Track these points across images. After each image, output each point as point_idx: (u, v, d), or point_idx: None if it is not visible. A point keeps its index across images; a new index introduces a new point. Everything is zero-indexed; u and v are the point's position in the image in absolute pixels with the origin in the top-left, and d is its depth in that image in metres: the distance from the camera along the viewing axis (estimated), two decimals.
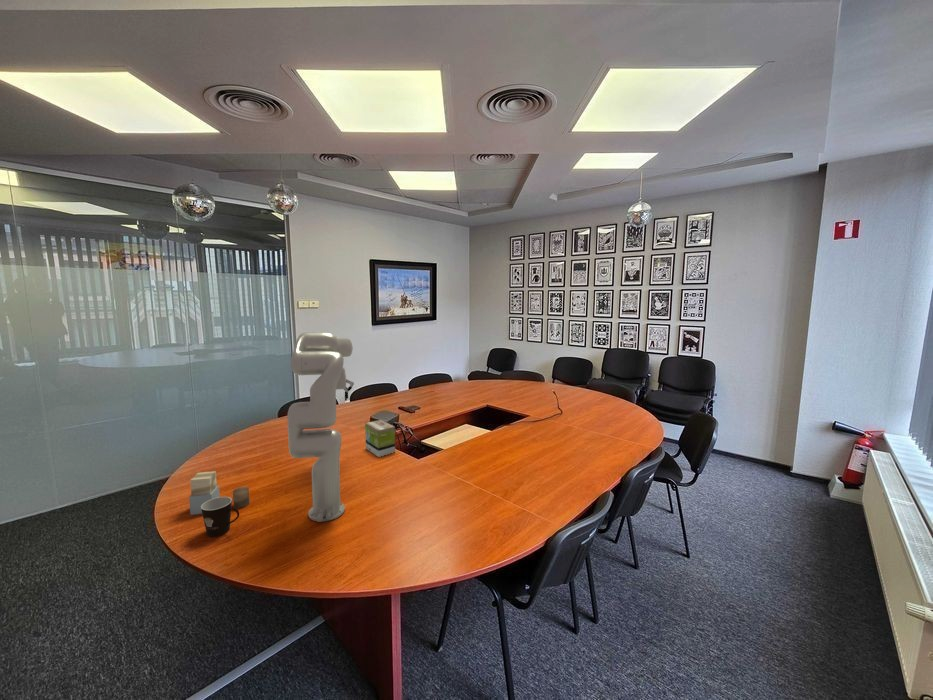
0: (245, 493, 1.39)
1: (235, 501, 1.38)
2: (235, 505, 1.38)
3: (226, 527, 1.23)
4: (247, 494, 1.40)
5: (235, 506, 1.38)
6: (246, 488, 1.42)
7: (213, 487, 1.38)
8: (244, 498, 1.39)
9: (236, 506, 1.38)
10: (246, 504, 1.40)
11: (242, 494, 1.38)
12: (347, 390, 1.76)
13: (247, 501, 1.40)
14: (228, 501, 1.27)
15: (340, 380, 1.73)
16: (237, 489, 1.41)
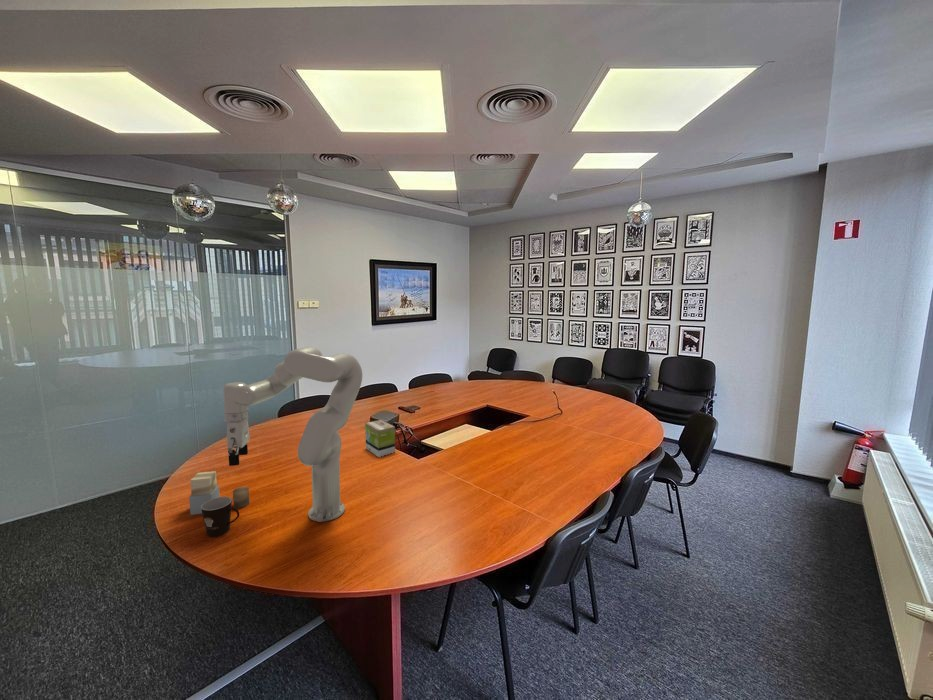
0: (245, 493, 1.39)
1: (235, 501, 1.38)
2: (235, 505, 1.38)
3: (226, 527, 1.23)
4: (247, 494, 1.40)
5: (235, 506, 1.38)
6: (246, 488, 1.42)
7: (213, 487, 1.38)
8: (244, 498, 1.39)
9: (236, 506, 1.38)
10: (246, 504, 1.40)
11: (242, 494, 1.38)
12: None
13: (247, 501, 1.40)
14: (228, 501, 1.27)
15: (248, 430, 1.41)
16: (237, 489, 1.41)
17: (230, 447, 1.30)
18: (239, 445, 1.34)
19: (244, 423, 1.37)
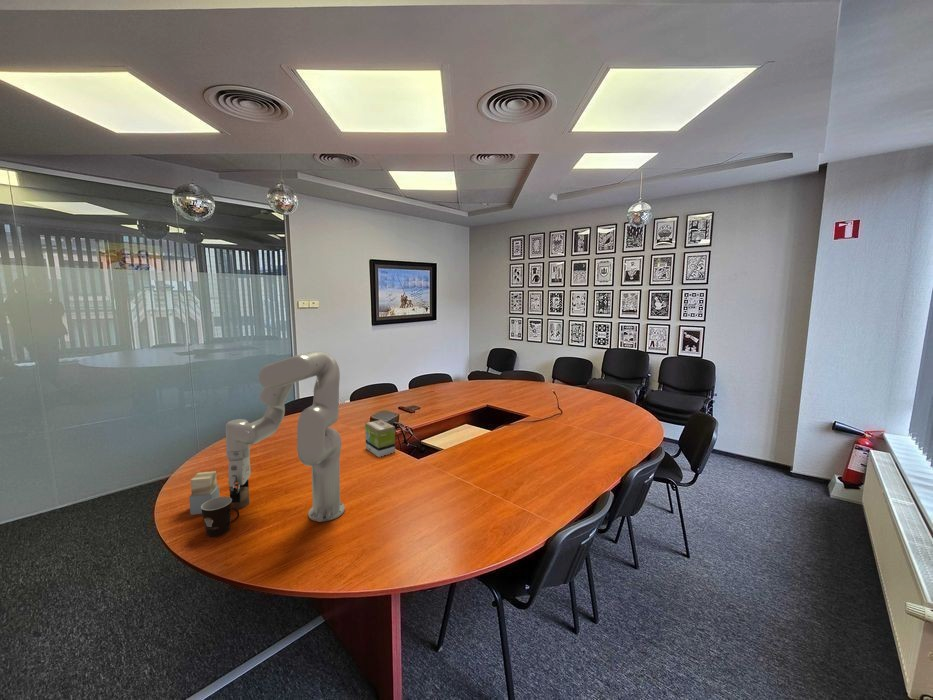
0: (245, 493, 1.39)
1: None
2: (235, 505, 1.38)
3: (226, 527, 1.23)
4: (247, 494, 1.40)
5: (235, 506, 1.38)
6: (246, 488, 1.42)
7: (213, 487, 1.38)
8: (244, 498, 1.39)
9: (236, 506, 1.38)
10: (246, 504, 1.40)
11: (242, 494, 1.38)
12: None
13: (247, 501, 1.40)
14: (228, 501, 1.27)
15: (249, 466, 1.43)
16: None
17: (231, 486, 1.32)
18: (240, 483, 1.35)
19: (245, 460, 1.39)
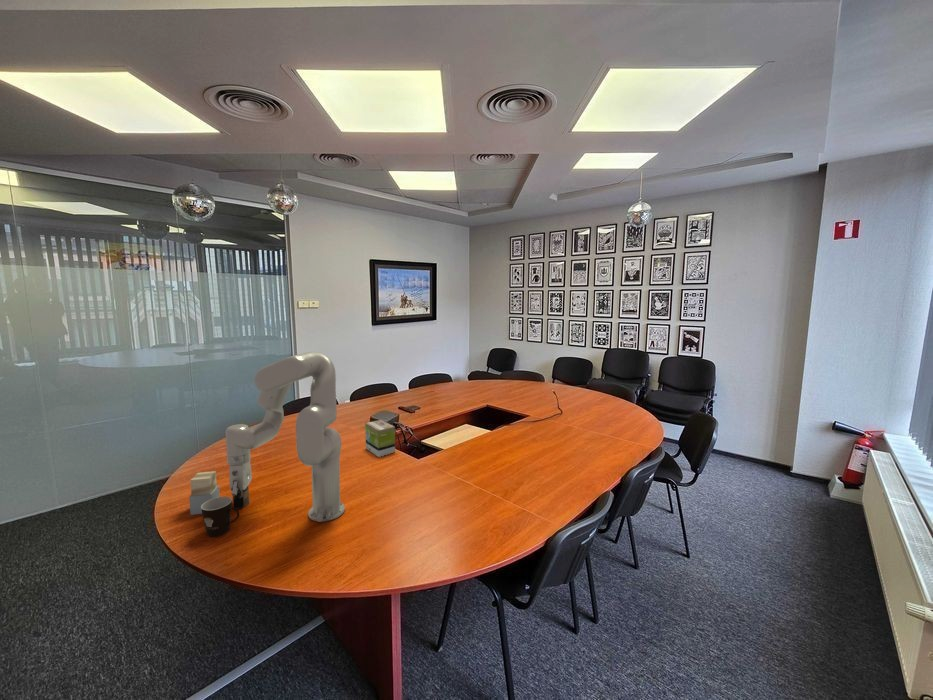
0: (244, 493, 1.39)
1: None
2: None
3: (226, 527, 1.23)
4: (247, 494, 1.40)
5: None
6: (246, 488, 1.41)
7: (213, 487, 1.38)
8: (244, 498, 1.39)
9: None
10: (246, 504, 1.40)
11: (242, 494, 1.38)
12: (247, 486, 1.44)
13: (247, 501, 1.40)
14: (228, 501, 1.27)
15: (250, 471, 1.43)
16: None
17: (234, 494, 1.33)
18: (242, 487, 1.36)
19: (246, 465, 1.39)
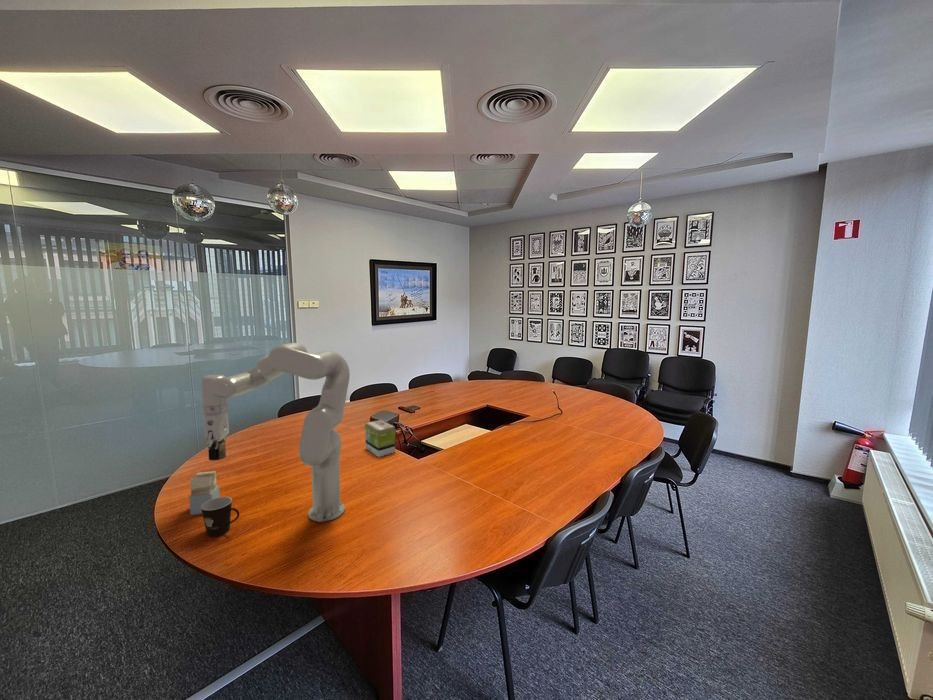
0: (220, 445, 1.35)
1: None
2: None
3: (226, 527, 1.23)
4: (223, 446, 1.36)
5: None
6: (222, 441, 1.38)
7: (213, 487, 1.38)
8: (220, 450, 1.35)
9: None
10: (222, 457, 1.36)
11: (218, 446, 1.35)
12: (224, 439, 1.41)
13: (223, 454, 1.37)
14: (228, 501, 1.27)
15: (227, 424, 1.39)
16: None
17: (209, 444, 1.29)
18: (217, 438, 1.32)
19: (223, 416, 1.35)
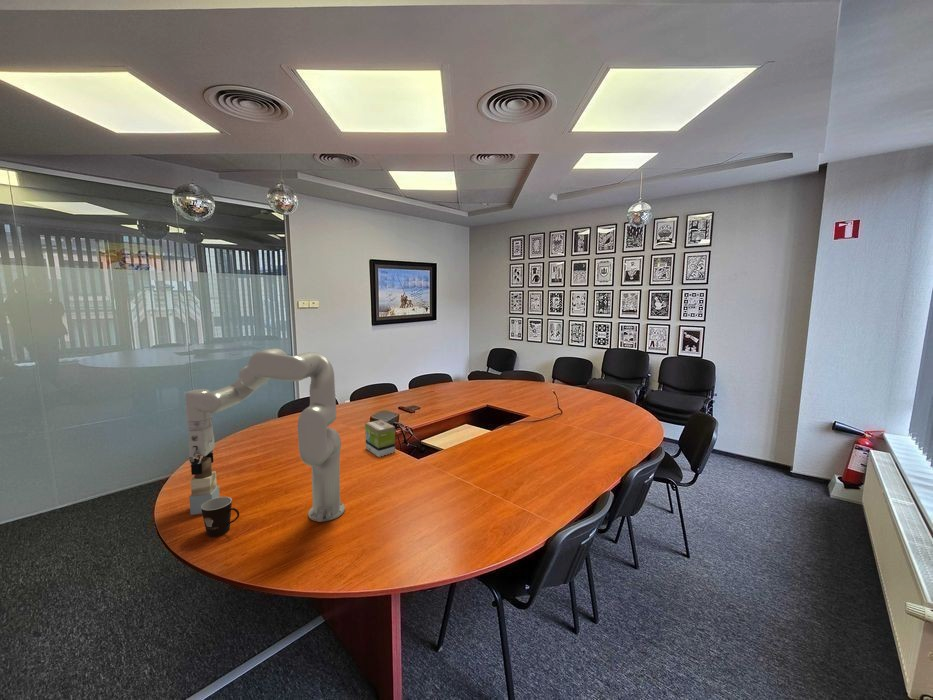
0: (206, 463, 1.35)
1: None
2: (196, 475, 1.34)
3: (226, 527, 1.23)
4: (209, 464, 1.36)
5: (196, 476, 1.34)
6: (208, 458, 1.37)
7: (213, 487, 1.38)
8: (206, 468, 1.35)
9: (197, 476, 1.34)
10: (208, 475, 1.35)
11: (203, 464, 1.34)
12: (211, 449, 1.41)
13: (209, 472, 1.36)
14: (228, 501, 1.27)
15: (212, 438, 1.38)
16: None
17: (191, 456, 1.27)
18: (202, 454, 1.31)
19: (208, 431, 1.34)
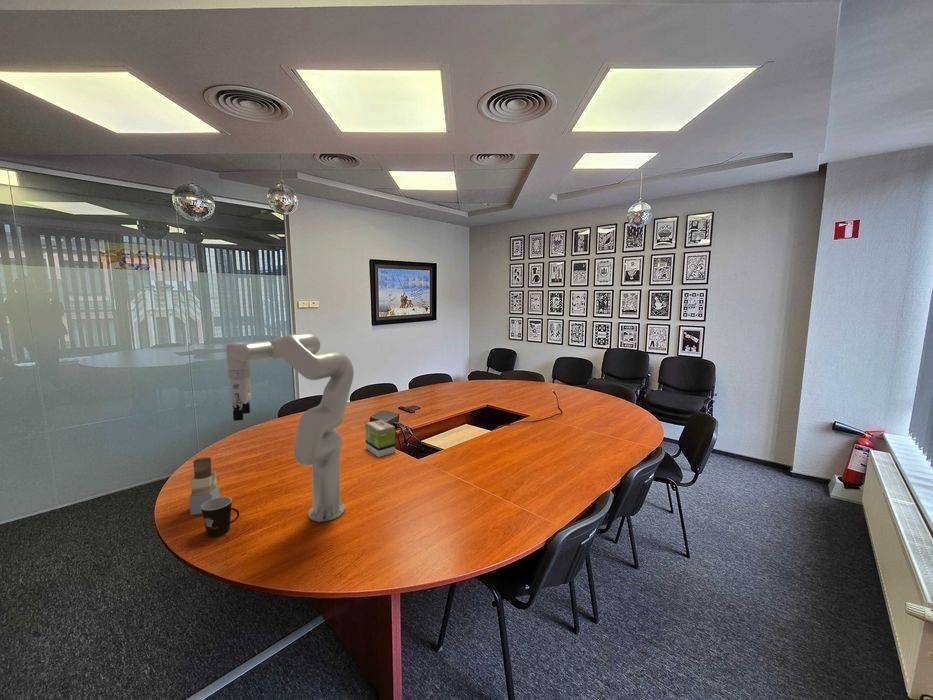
0: (206, 463, 1.35)
1: (196, 471, 1.33)
2: (196, 475, 1.34)
3: (226, 527, 1.23)
4: (209, 464, 1.36)
5: (196, 476, 1.34)
6: (208, 458, 1.37)
7: (213, 487, 1.38)
8: (206, 468, 1.35)
9: (197, 477, 1.34)
10: (208, 475, 1.35)
11: (203, 464, 1.34)
12: (248, 400, 1.51)
13: (209, 471, 1.36)
14: (228, 501, 1.27)
15: (250, 389, 1.48)
16: (198, 459, 1.36)
17: (235, 401, 1.37)
18: (243, 401, 1.41)
19: (247, 381, 1.44)
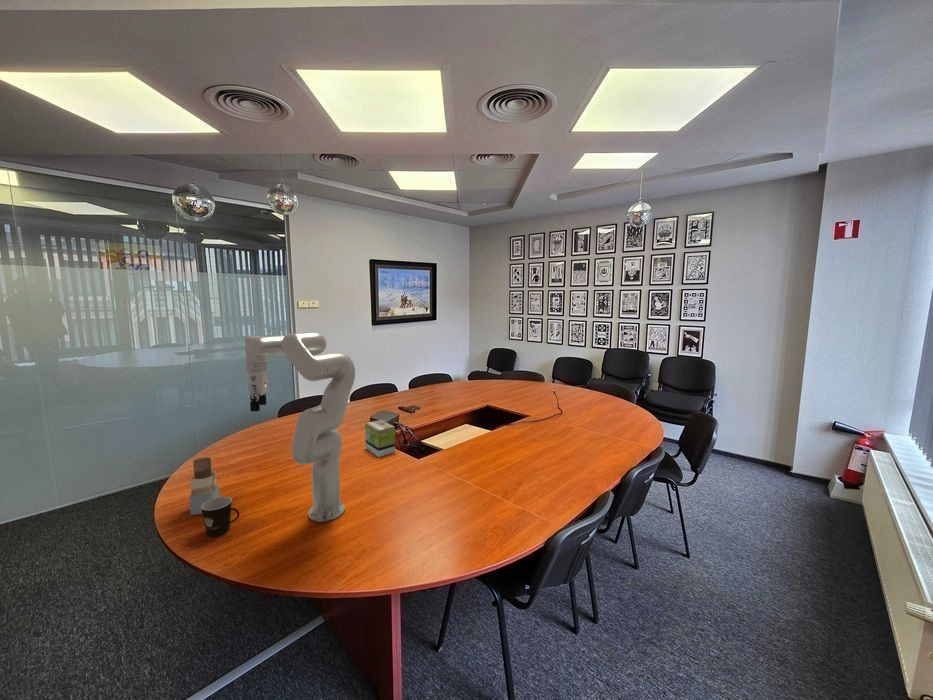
0: (206, 463, 1.35)
1: (196, 471, 1.33)
2: (196, 475, 1.34)
3: (226, 527, 1.23)
4: (208, 464, 1.36)
5: (196, 476, 1.34)
6: (208, 458, 1.37)
7: (213, 487, 1.38)
8: (205, 468, 1.35)
9: (196, 477, 1.34)
10: (207, 475, 1.35)
11: (203, 464, 1.34)
12: (265, 392, 1.56)
13: (209, 471, 1.36)
14: (228, 501, 1.27)
15: (266, 381, 1.53)
16: (198, 459, 1.36)
17: (252, 393, 1.42)
18: (260, 392, 1.45)
19: (264, 373, 1.49)
